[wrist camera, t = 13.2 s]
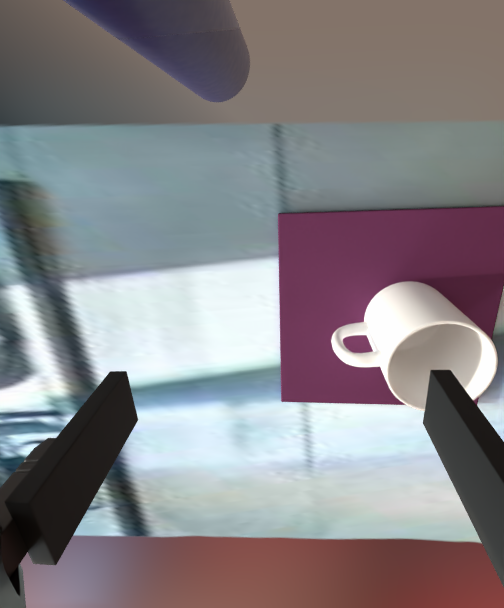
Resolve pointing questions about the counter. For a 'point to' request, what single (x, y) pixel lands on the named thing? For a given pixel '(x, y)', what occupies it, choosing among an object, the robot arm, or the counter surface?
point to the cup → (420, 342)
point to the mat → (375, 286)
